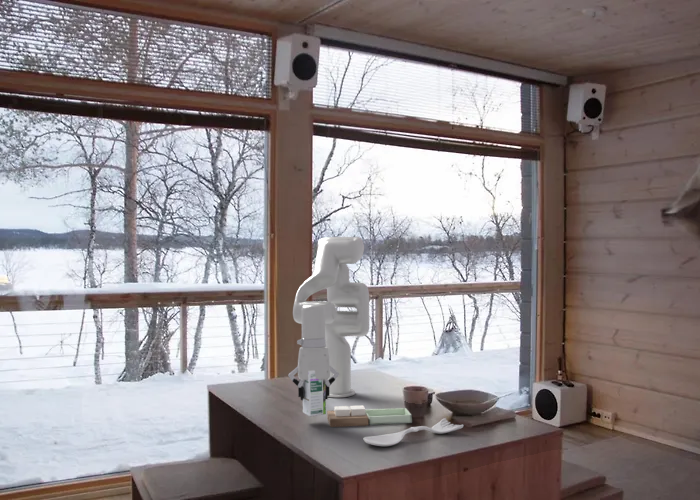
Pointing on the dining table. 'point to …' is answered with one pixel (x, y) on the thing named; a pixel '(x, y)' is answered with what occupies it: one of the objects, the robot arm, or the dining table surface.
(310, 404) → the syrup box
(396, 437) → the spoon
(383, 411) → the tray
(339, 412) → the tile
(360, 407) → the tile
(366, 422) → the board
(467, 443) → the dining table surface
